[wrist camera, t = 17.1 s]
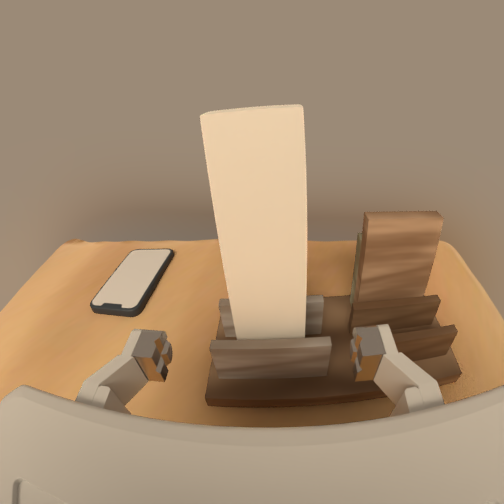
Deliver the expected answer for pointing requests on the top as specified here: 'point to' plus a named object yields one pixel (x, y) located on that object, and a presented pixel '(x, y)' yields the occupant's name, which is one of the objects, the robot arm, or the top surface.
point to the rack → (324, 354)
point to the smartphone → (132, 283)
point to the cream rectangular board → (261, 215)
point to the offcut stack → (395, 255)
